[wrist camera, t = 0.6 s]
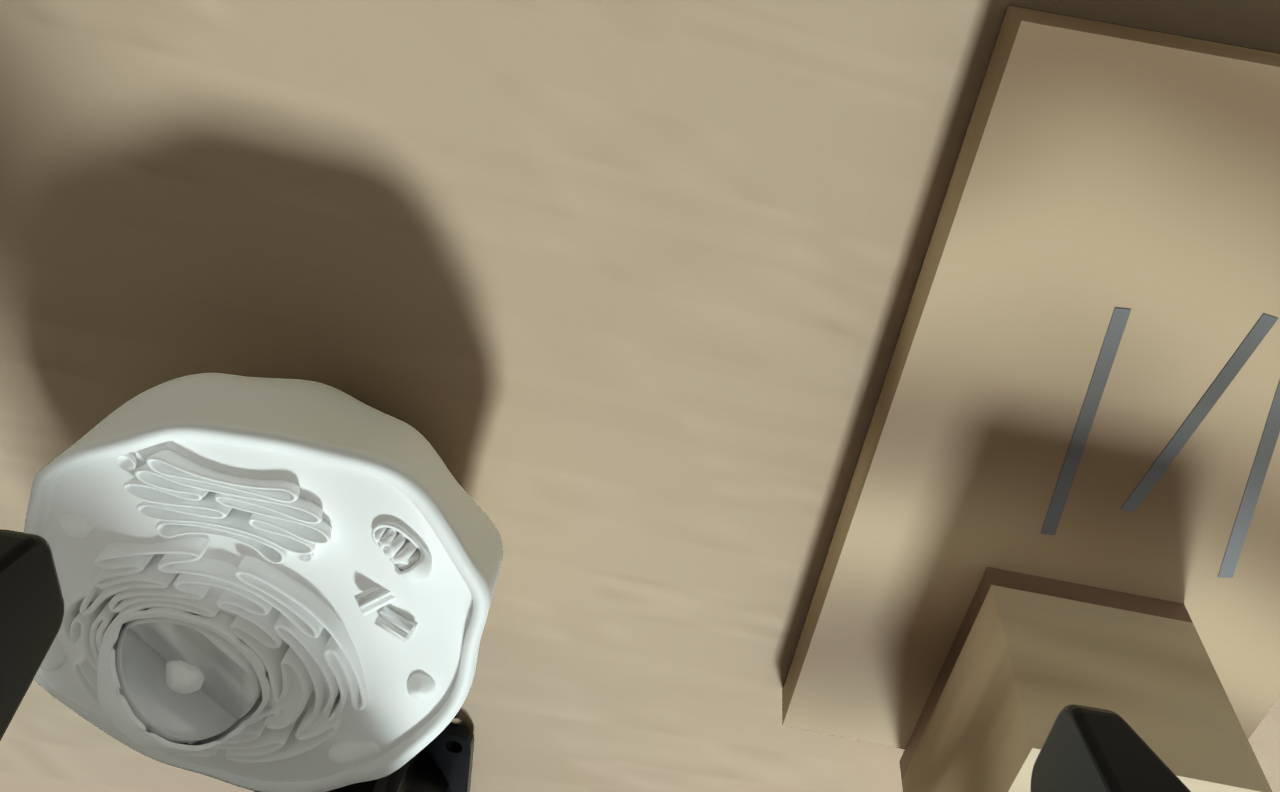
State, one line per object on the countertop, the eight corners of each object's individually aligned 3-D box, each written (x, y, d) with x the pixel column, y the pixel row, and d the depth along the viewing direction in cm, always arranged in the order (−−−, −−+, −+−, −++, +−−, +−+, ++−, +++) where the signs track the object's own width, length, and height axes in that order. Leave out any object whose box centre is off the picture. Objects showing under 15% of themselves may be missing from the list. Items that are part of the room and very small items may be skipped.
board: (1184, 767, 28) (1199, 806, 27) (782, 690, 28) (782, 726, 27) (1634, 117, 18) (1686, 139, 17) (1007, 5, 18) (1021, 20, 17)
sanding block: (1068, 794, 27) (1121, 987, 23) (899, 761, 27) (921, 947, 23) (1184, 603, 23) (1273, 794, 19) (987, 566, 23) (1032, 748, 19)
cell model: (631, 531, 25) (587, 757, 20) (306, 690, 30) (195, 909, 25) (349, 209, 22) (193, 374, 16) (29, 450, 26) (-179, 642, 21)
